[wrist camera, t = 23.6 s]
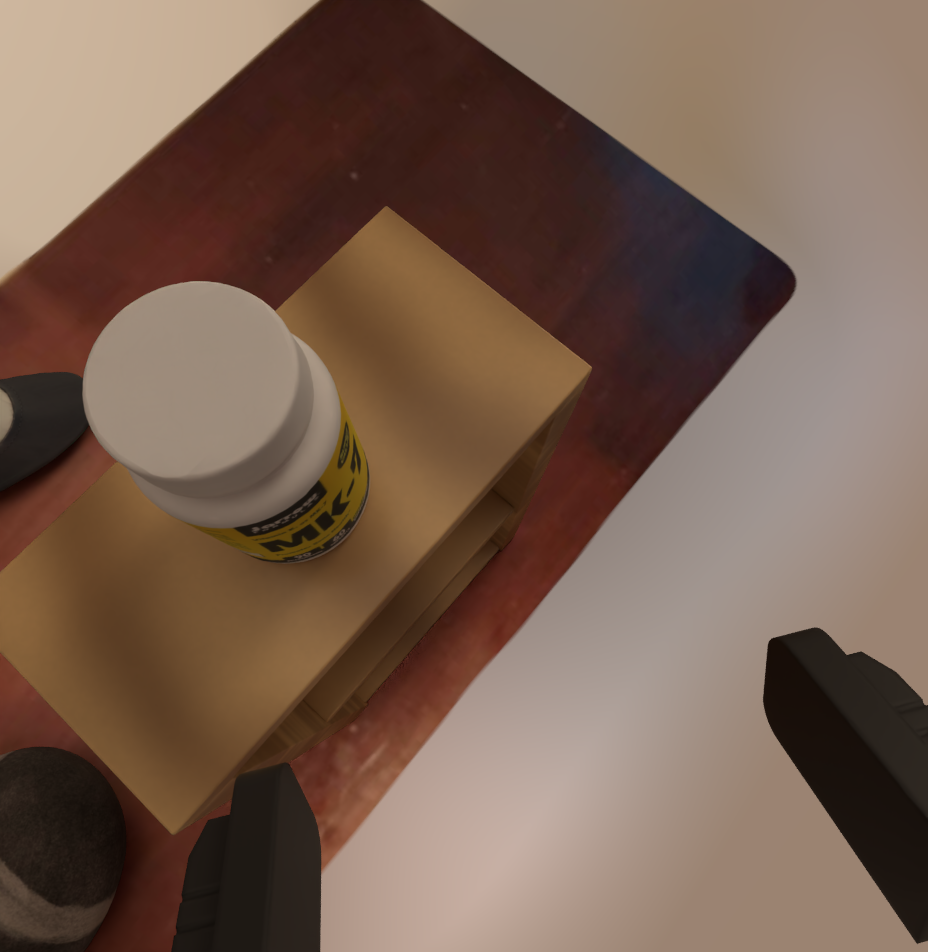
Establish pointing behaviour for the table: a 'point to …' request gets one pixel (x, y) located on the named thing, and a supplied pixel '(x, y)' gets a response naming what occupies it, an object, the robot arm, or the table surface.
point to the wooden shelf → (310, 582)
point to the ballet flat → (38, 421)
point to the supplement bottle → (228, 421)
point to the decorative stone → (56, 850)
